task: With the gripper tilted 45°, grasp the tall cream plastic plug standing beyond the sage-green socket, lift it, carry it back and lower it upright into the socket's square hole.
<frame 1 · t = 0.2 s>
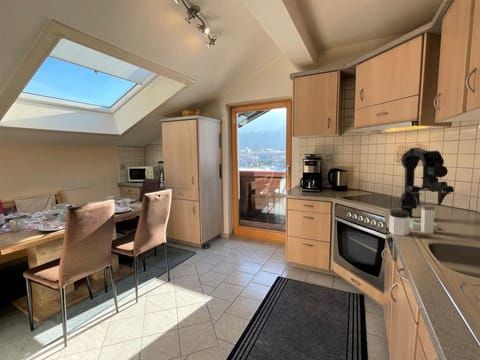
hand: (428, 205, 125), 15 cm above the counter, tool pointing down, fingers open, 9 cm apart
plug: (426, 231, 128), on the counter
socket: (420, 226, 136), on the counter
jar: (398, 233, 129), on the counter
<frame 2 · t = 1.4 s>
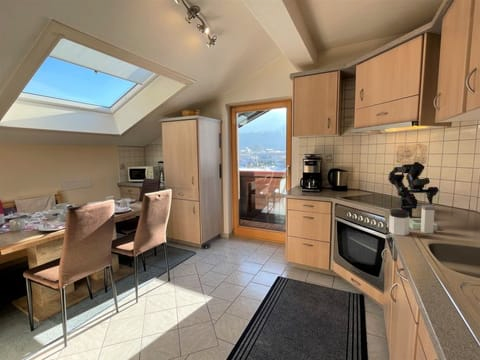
hand: (421, 204, 133), 13 cm above the counter, tool tilted 45°, fingers open, 9 cm apart
nothing on the counter moved.
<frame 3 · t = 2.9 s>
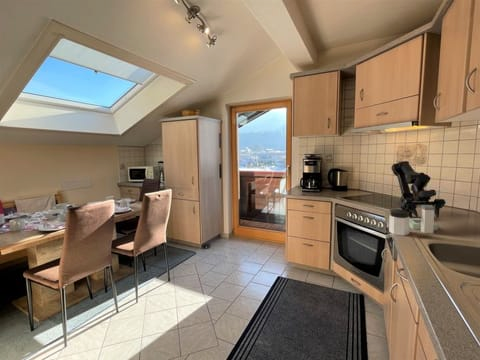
hand: (427, 217, 127), 8 cm above the counter, tool tilted 45°, fingers open, 9 cm apart
nothing on the counter moved.
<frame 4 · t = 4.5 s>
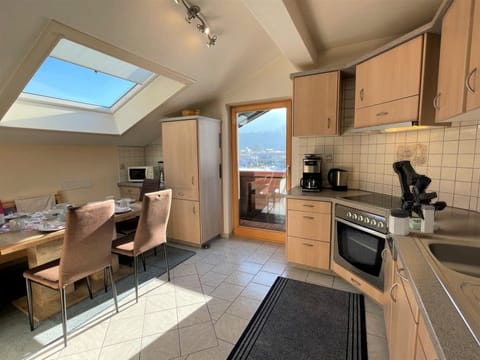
hand: (428, 219, 126), 7 cm above the counter, tool tilted 45°, fingers closed on plug, 4 cm apart
plug: (426, 231, 128), on the counter, touching gripper
everything else where it was.
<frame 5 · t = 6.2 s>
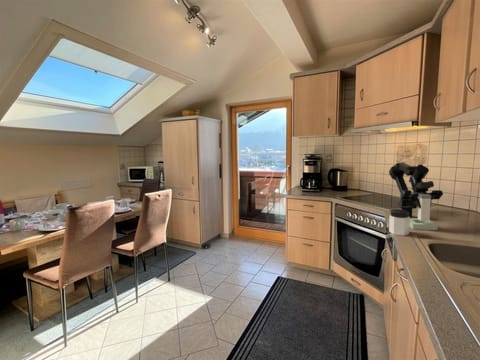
hand: (425, 208, 130), 12 cm above the counter, tool tilted 45°, fingers closed on plug, 4 cm apart
plug: (423, 219, 132), point 5 cm above the counter, touching gripper
everything else where it was.
when the fingers open (8 cm above the counter, at t = 8.2 s): plug stays where it is, resting on socket.
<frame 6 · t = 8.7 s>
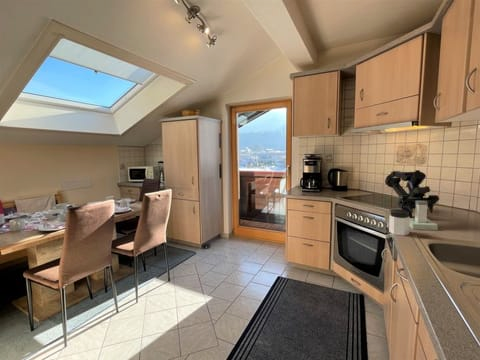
hand: (422, 212, 134), 9 cm above the counter, tool tilted 45°, fingers open, 9 cm apart
plug: (420, 225, 136), resting on socket
everything else where it was.
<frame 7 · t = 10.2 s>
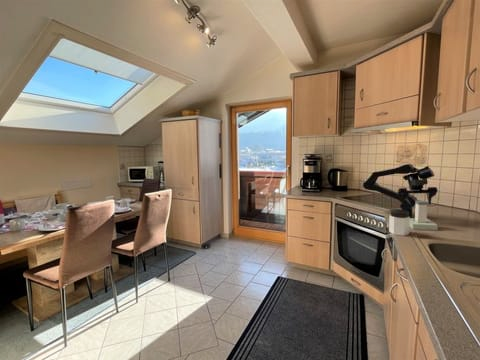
hand: (420, 204, 138), 12 cm above the counter, tool tilted 45°, fingers open, 9 cm apart
nothing on the counter moved.
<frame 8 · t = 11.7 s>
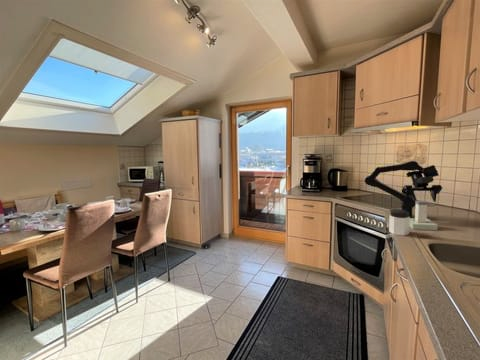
hand: (425, 201, 137), 14 cm above the counter, tool tilted 45°, fingers open, 9 cm apart
nothing on the counter moved.
at the end: plug 0.0 cm off-centre on the socket, point 0.5 cm above the socket's base; plug tilted 0°; the gripper is holding nothing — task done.
